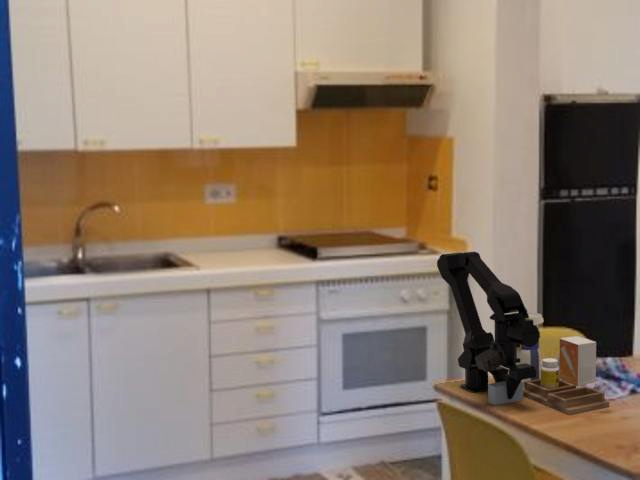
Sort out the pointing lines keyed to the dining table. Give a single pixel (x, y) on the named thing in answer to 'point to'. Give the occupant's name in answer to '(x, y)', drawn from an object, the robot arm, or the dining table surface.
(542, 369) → the supplement bottle
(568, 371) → the small box
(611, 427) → the dining table surface
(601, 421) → the dining table surface
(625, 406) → the dining table surface
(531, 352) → the water bottle
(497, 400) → the blue-gray rectangular block
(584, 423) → the dining table surface
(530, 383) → the jig
